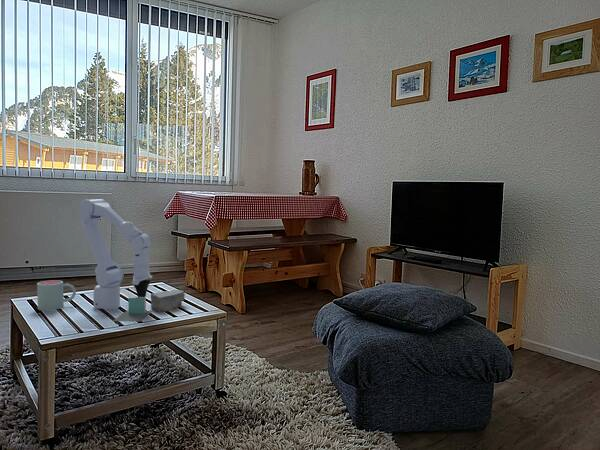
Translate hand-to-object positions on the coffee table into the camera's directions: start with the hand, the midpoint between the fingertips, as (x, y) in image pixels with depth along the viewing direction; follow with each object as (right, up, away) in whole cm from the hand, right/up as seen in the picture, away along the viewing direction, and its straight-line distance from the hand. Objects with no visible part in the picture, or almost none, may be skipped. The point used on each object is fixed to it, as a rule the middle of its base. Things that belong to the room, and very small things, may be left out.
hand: (141, 299), depth 188 cm
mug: (-35, -4, +4) cm, 35 cm away
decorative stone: (+9, -5, +4) cm, 11 cm away
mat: (0, -5, -9) cm, 10 cm away
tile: (0, -4, -5) cm, 7 cm away
